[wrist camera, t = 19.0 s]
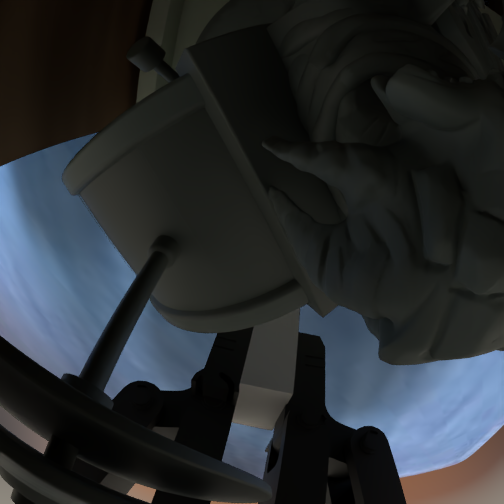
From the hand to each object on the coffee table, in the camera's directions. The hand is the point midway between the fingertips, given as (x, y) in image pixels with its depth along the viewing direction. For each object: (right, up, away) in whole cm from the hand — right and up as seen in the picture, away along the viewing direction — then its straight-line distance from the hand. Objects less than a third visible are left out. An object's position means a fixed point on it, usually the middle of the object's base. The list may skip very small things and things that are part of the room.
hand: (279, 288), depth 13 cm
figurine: (+2, +7, -4) cm, 9 cm away
